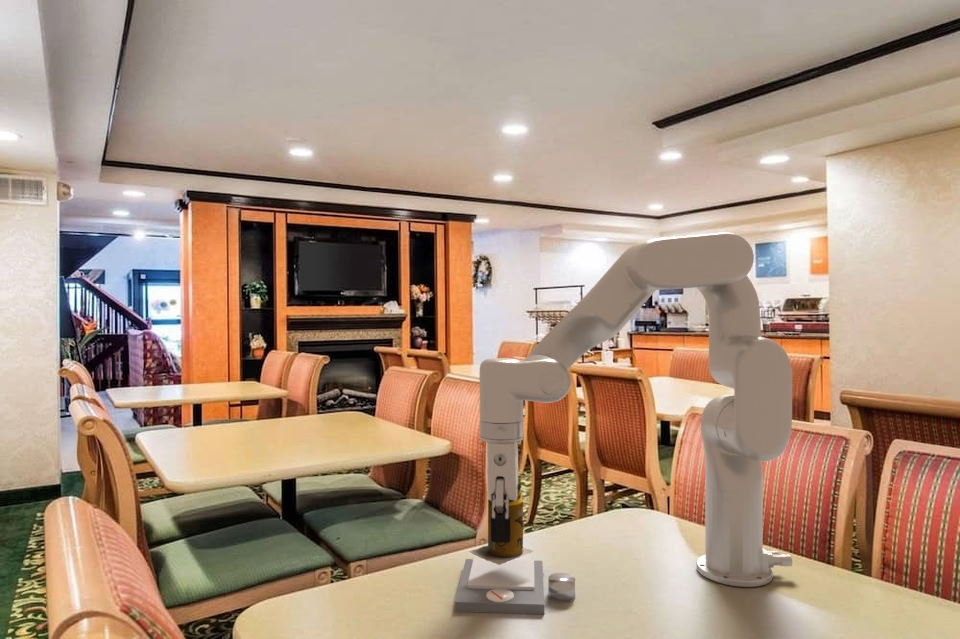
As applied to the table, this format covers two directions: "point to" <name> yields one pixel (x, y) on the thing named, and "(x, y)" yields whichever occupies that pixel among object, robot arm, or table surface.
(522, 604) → the scale
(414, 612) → the table surface
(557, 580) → the knob
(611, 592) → the table surface
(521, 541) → the condiment
